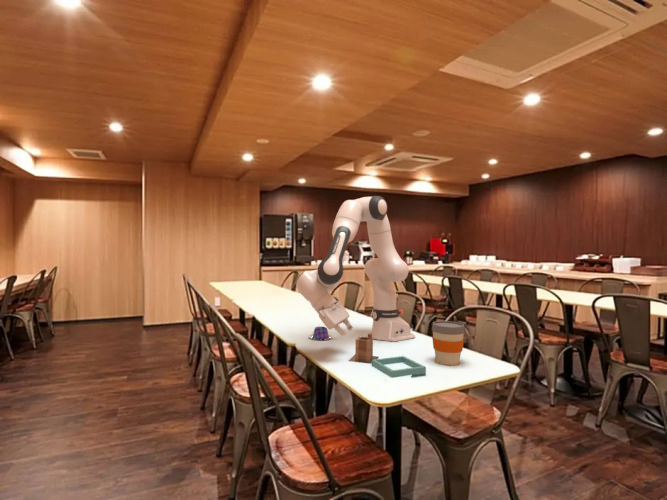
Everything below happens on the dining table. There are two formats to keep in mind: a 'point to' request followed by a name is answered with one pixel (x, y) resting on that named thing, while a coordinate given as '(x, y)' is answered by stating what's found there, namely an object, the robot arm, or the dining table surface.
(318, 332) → the purple plaid hat
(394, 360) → the tray
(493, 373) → the dining table surface
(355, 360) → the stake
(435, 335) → the reusable coffee cup
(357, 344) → the brown wooden holder
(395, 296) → the robot arm
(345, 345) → the dining table surface
